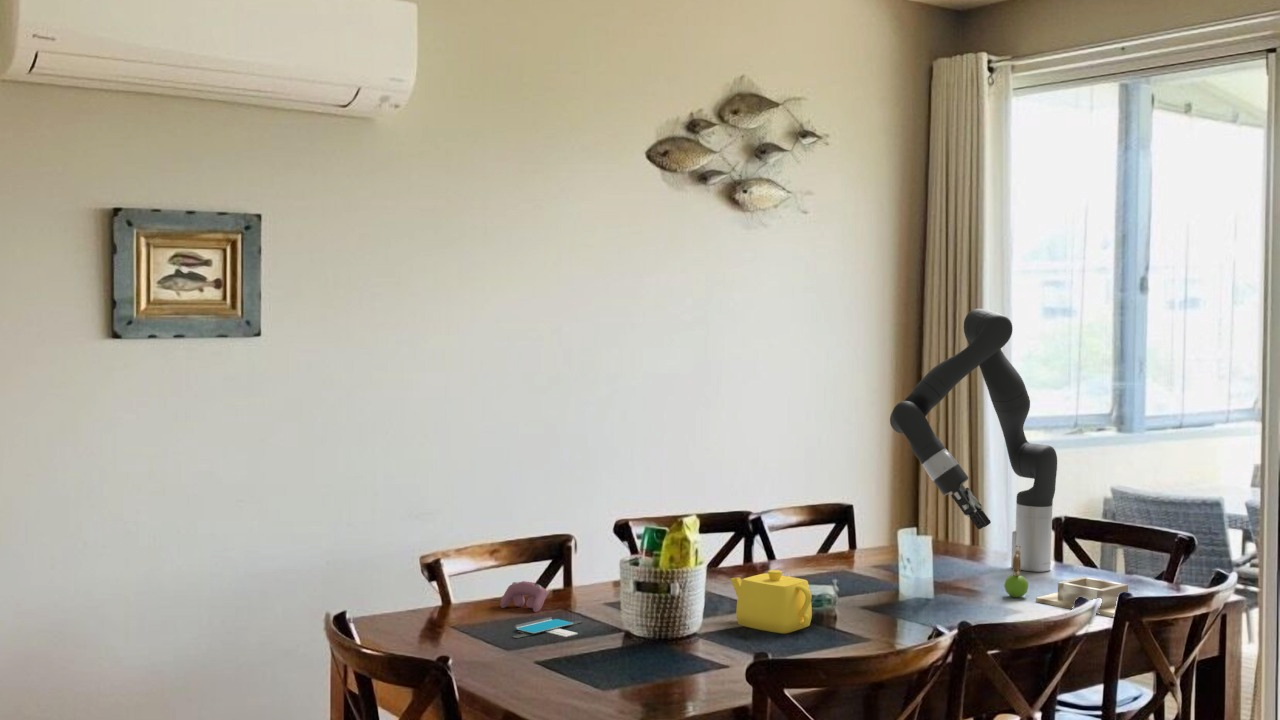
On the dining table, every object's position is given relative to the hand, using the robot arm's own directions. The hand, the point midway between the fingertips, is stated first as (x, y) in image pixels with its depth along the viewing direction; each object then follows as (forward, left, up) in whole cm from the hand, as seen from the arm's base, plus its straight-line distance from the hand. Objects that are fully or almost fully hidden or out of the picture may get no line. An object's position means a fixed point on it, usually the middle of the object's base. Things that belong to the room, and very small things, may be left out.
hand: (985, 526), depth 329 cm
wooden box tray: (+24, +9, -16) cm, 30 cm away
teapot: (-9, -66, -16) cm, 69 cm away
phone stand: (-33, -107, -17) cm, 113 cm away
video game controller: (-53, -100, -16) cm, 114 cm away
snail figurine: (+8, +2, -16) cm, 18 cm away
